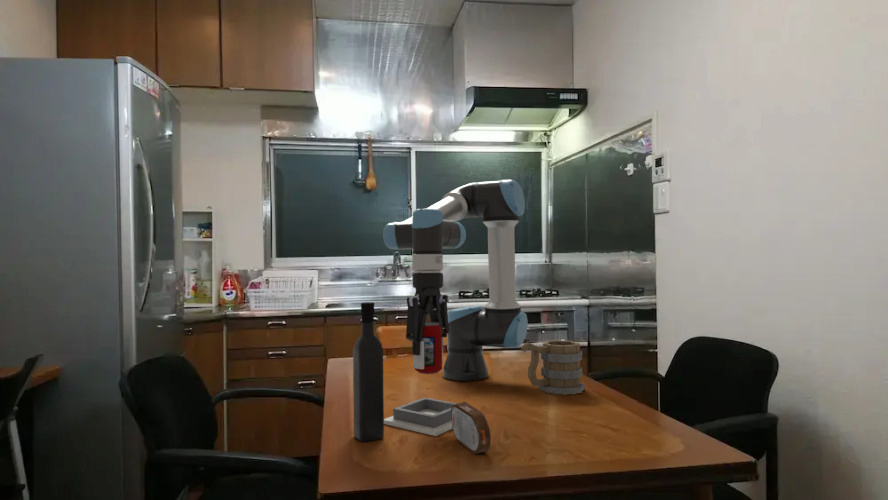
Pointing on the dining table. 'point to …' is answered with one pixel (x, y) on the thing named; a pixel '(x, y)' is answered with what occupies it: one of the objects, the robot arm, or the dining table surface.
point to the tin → (470, 427)
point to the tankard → (556, 367)
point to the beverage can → (432, 348)
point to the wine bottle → (368, 380)
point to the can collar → (423, 416)
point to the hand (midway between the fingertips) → (428, 365)
